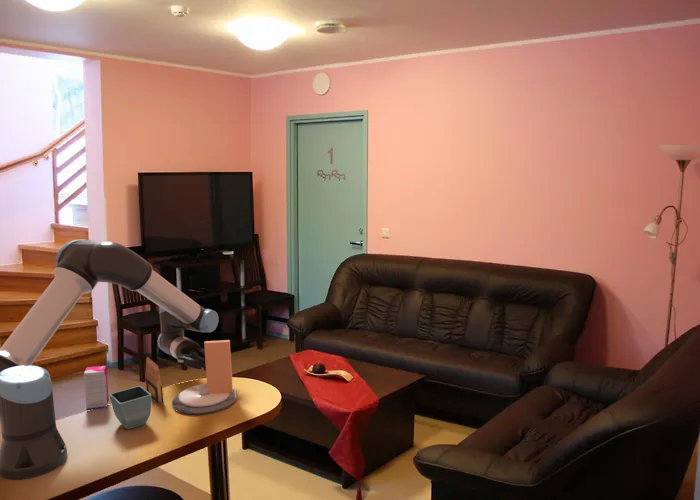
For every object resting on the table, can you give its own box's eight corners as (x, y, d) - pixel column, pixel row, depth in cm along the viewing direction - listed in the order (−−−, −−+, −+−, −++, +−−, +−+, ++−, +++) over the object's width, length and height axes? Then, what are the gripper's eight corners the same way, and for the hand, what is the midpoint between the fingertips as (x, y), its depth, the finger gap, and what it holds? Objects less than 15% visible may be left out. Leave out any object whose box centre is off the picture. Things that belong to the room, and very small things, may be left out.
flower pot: (122, 435, 160) (119, 403, 159) (111, 424, 167) (108, 393, 166) (154, 425, 166) (152, 394, 164) (142, 414, 173) (140, 385, 171)
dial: (174, 408, 173) (170, 352, 170) (183, 388, 187) (179, 336, 185) (230, 405, 174) (226, 349, 171) (234, 385, 189) (231, 333, 186)
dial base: (158, 407, 178) (157, 394, 177) (203, 384, 194) (203, 373, 193) (206, 420, 168) (205, 406, 167) (249, 395, 184) (249, 383, 184)
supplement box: (107, 408, 178) (103, 371, 176) (86, 410, 176) (82, 373, 174) (109, 400, 183) (106, 364, 181) (89, 403, 182) (85, 367, 180)
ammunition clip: (163, 402, 181) (160, 364, 179) (157, 404, 180) (154, 366, 178) (152, 391, 189) (149, 355, 187) (146, 393, 188) (143, 356, 186)
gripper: (205, 356, 204) (240, 374, 186) (167, 366, 195) (201, 386, 178) (203, 335, 203) (239, 351, 185) (166, 344, 194) (200, 362, 176)
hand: (220, 368), depth 181 cm, fingers closed
